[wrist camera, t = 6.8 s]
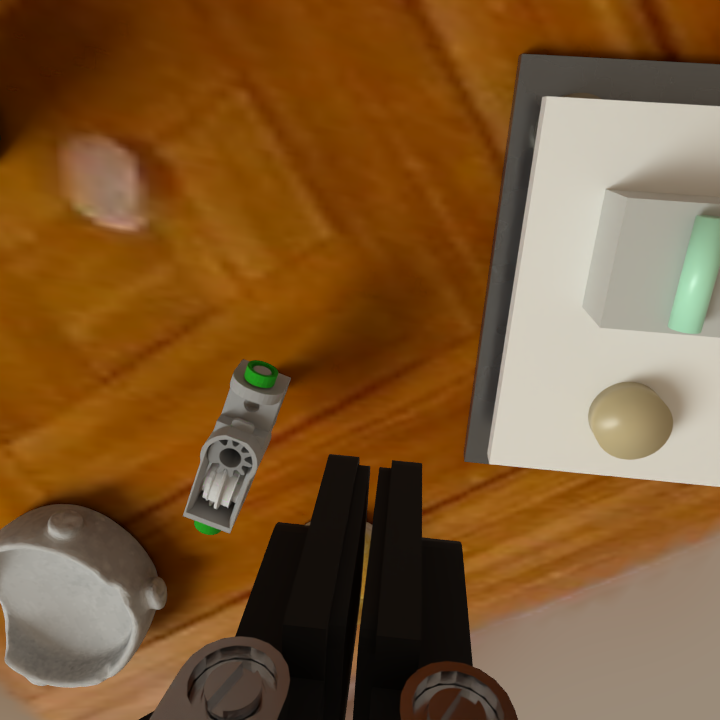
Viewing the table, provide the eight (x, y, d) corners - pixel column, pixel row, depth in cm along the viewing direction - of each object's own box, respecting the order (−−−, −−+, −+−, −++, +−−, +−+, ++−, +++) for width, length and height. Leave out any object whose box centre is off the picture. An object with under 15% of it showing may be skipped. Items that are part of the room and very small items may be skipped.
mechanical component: (319, 322, 39) (287, 388, 29) (270, 451, 42) (227, 545, 33) (275, 304, 38) (228, 365, 29) (230, 436, 42) (176, 526, 33)
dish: (75, 658, 52) (42, 711, 48) (-37, 539, 49) (-85, 584, 44) (209, 600, 48) (187, 652, 44) (98, 466, 45) (61, 507, 40)
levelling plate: (542, 97, 30) (570, 92, 24) (842, 114, 29) (944, 113, 23) (487, 453, 37) (498, 513, 32) (724, 476, 36) (780, 542, 31)
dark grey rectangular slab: (518, 55, 32) (527, 50, 29) (840, 72, 31) (878, 69, 28) (463, 453, 41) (466, 476, 38) (710, 477, 40) (729, 503, 37)
